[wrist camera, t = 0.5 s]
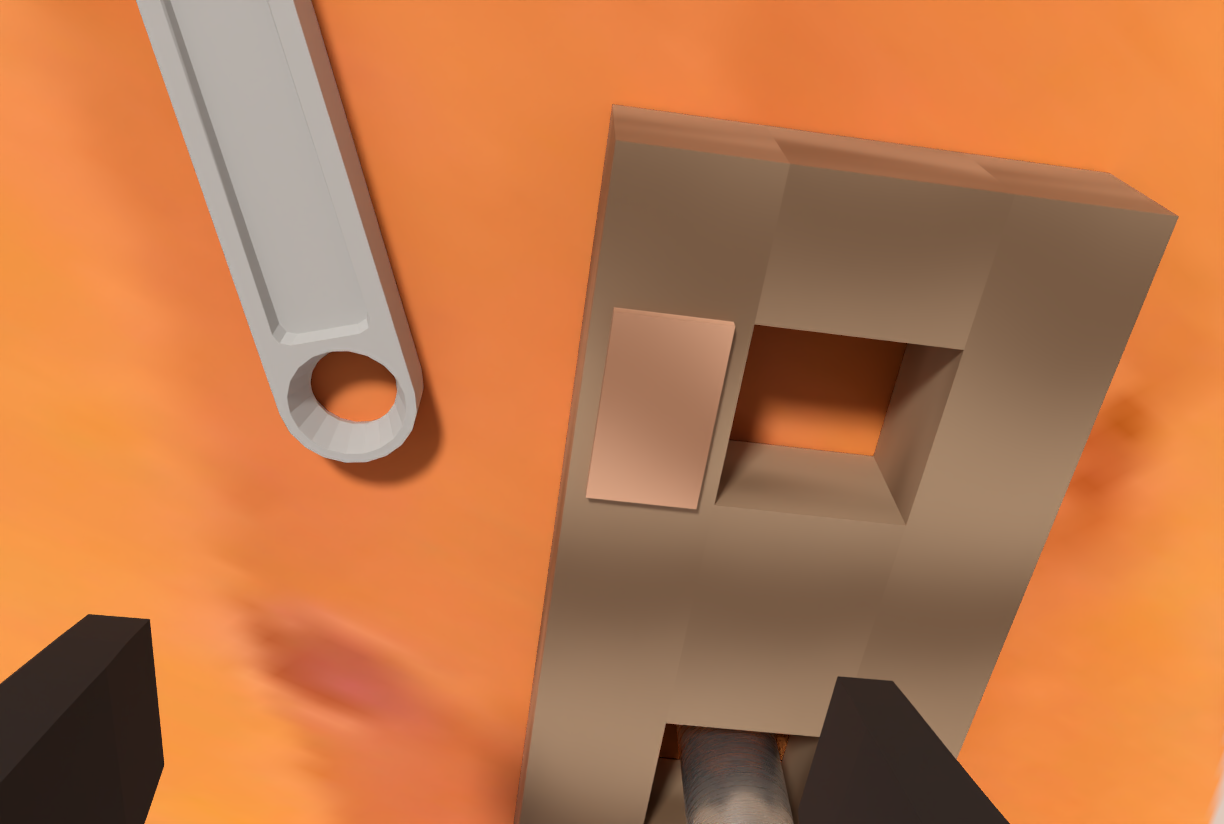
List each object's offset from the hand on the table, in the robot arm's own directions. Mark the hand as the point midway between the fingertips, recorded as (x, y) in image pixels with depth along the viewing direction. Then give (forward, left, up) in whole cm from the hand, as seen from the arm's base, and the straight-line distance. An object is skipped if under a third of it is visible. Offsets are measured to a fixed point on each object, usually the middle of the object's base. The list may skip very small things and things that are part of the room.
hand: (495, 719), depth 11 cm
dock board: (-5, -5, -10) cm, 12 cm away
